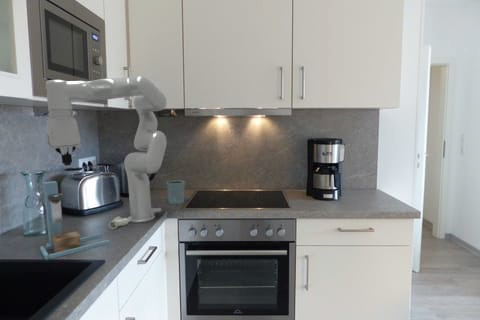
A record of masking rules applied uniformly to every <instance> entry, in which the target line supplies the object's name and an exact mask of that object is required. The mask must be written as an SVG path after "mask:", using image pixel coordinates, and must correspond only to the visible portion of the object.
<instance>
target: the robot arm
mask: <svg viewBox="0 0 480 320" xmlns="http://www.w3.org/2000/svg"><path fill="white" fill-rule="evenodd" d="M45 83H46V87H45V90H46V89H47V95H46V101H47V109H48V117H49V119H47V120H46V136H47V138H46V139H47V145H48V149H47V150H49V151H52V152H57V153H58V154H59V155H60V156H61V161H62V165H64V166H71V165H72V163H73V159H72V154H73V153H74V152H75V150H77V149H81V148H82V143H81V135H80V131H79V126H78V123H77V119H76V118H74V117H75V116H78V111H74V109H73V103H77V102H84V101H100V100H101V101H103V100H104V101H105V100H114V99H123V98H132V97H134V98H133V106H134V108H135V110H136V112H137V114H138V117H139V123H138V127H137V130H136V133H135V136H134V141H133V146H134V148H135V149H136V150H138V152H137V151H136V152H131V153H128V154H127V155H126V156H125V158H124V161H123V163H124V168H125V172H126V177H127V187H128V199H129V213H130V216H128V217H126V218H127V219H128V220H129V223H145V222H150V221H152V220H154V219H156V215H155V214H156V213H161V212H162V208H161V207H158V208H156V207H152V201H151V190H150V189H151V188H150V187H151V185H150V184H151V183H150V178H149V176H148V174H149V175H150V174H156V173H157V172H159V170H160V168H161V166H162V163H163V160H164V155H165V152H166V148H167V137H166V135H165V133H164V132H162V131H160V130H157V129H158V123H159V122H158V119H157V117H156V115H155V113H154V112H160V111H163V110H164V109H165V108H166V107H167V104H168V103H167V98H166V97H165V94H164V93H163V92H162V91H161V90H160V88H158V87H157V85H155V84H154V83H153V82H152V81H151V80H149V79H148V77H146V76H144V75H137V76H129V77H128V76H127V77H114V78H113V77H111V78H110V77H108V78H101V79H94V80H90V81H89V80H88V81H87V80H86V81H85V80H70V81H69V80H63V79H49V80H47V81H46V82H45ZM64 147H66V152H65V148H64Z"/></svg>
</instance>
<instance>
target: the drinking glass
mask: <svg viewBox="0 0 480 320" xmlns="http://www.w3.org/2000/svg"><path fill="white" fill-rule="evenodd" d="M185 186H186V181H185V180H181V179H180V180H169V181H167V182H166V188H167V197H168V198H167V199H168V204H169V205H180V204H181V205H182V204H184V202H185V188H186V187H185Z"/></svg>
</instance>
